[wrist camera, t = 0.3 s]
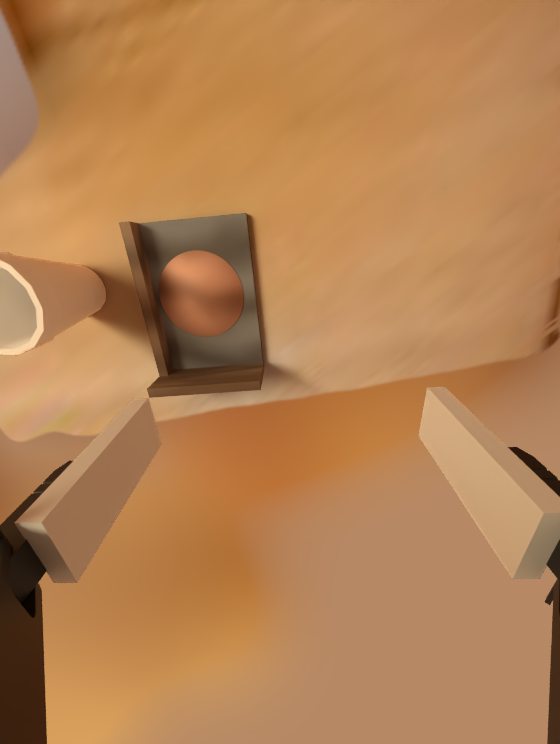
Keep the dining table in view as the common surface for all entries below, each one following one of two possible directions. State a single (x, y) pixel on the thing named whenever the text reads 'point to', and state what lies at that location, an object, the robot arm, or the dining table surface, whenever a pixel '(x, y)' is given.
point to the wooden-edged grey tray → (198, 303)
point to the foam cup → (43, 300)
